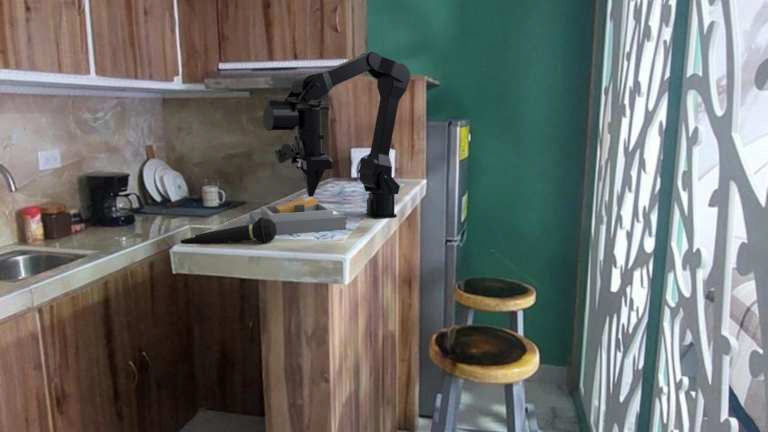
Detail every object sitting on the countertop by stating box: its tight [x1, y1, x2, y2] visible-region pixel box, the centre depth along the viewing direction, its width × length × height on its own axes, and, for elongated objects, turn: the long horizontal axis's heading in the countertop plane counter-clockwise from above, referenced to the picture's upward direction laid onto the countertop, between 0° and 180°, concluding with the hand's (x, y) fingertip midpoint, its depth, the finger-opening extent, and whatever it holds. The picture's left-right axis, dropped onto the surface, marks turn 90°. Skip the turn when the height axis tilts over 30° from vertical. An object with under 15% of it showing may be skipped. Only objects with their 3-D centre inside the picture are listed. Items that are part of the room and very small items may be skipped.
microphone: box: [179, 217, 277, 245], centre depth 109 cm, size 6×6×20 cm
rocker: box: [274, 195, 319, 213], centre depth 124 cm, size 9×5×2 cm, turn 112°
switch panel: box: [248, 199, 347, 236], centre depth 124 cm, size 20×14×6 cm
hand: (310, 196), depth 125 cm, fingers closed
